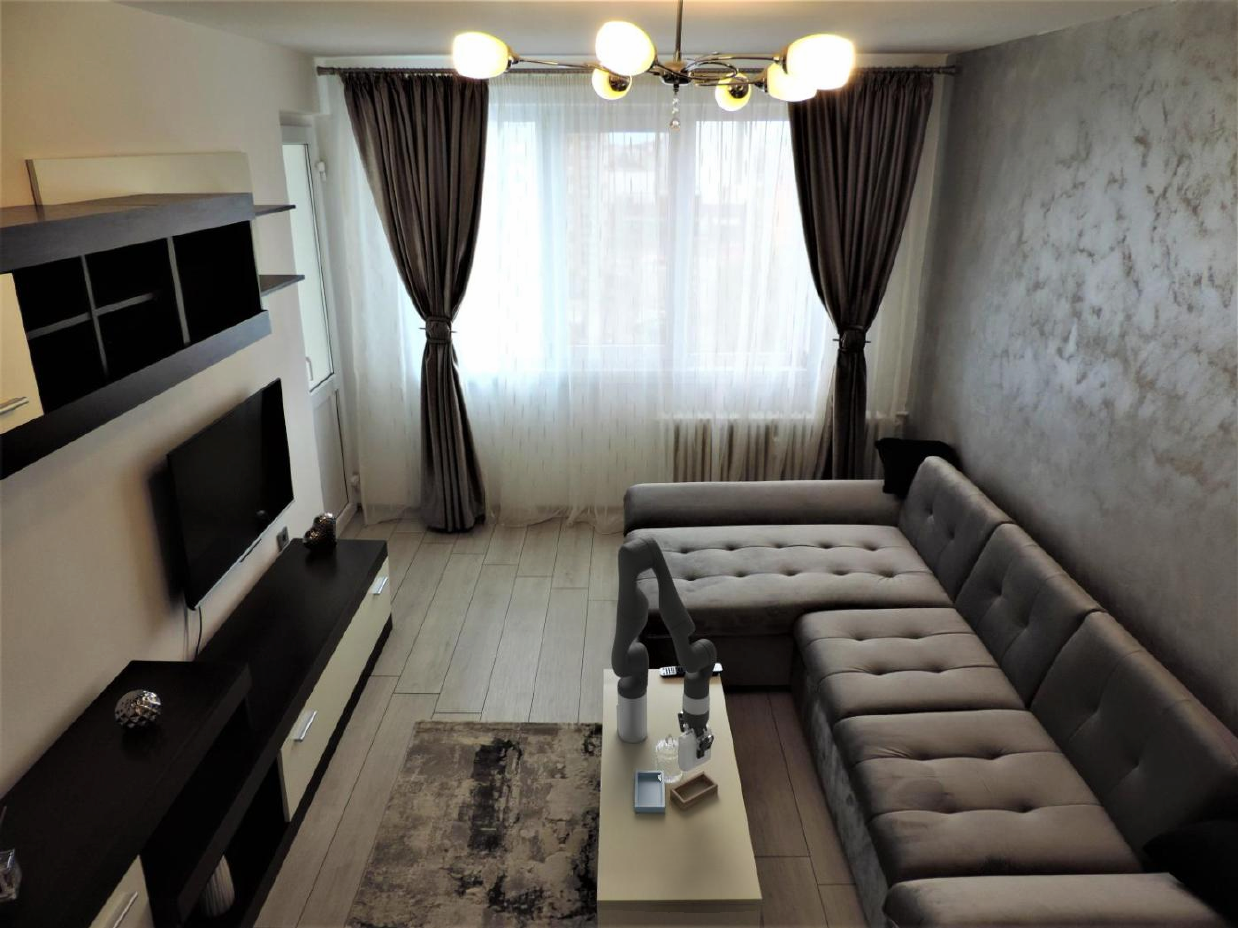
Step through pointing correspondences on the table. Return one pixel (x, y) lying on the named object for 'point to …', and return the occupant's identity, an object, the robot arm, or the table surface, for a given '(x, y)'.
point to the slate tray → (649, 792)
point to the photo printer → (691, 751)
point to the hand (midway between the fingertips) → (694, 751)
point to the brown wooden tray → (698, 797)
